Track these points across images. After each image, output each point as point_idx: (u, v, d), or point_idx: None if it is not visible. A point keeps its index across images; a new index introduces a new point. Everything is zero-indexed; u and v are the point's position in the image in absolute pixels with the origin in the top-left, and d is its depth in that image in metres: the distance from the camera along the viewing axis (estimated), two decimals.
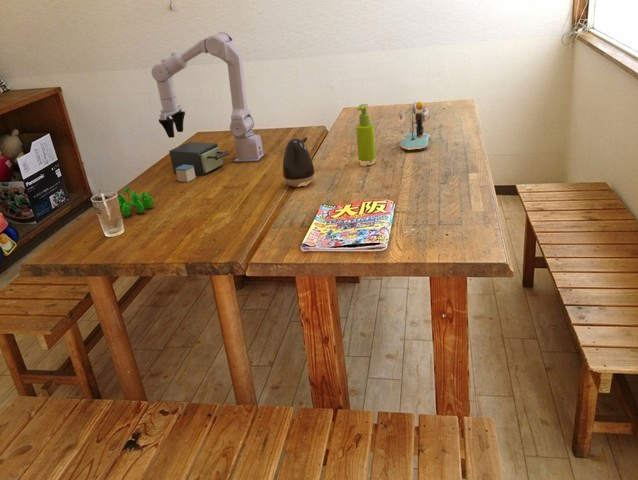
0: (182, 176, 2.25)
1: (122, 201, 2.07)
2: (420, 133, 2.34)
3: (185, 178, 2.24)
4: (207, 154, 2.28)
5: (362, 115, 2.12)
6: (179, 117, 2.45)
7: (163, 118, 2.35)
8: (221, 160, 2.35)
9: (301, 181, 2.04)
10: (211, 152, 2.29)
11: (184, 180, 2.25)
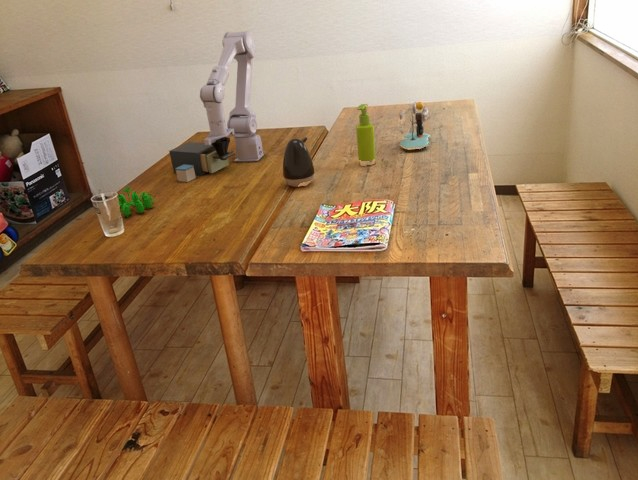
0: (182, 176, 2.25)
1: (122, 201, 2.07)
2: (420, 133, 2.34)
3: (185, 178, 2.24)
4: (213, 154, 2.27)
5: (362, 115, 2.12)
6: None
7: (207, 143, 2.19)
8: (227, 160, 2.34)
9: (301, 181, 2.04)
10: None
11: (184, 180, 2.25)
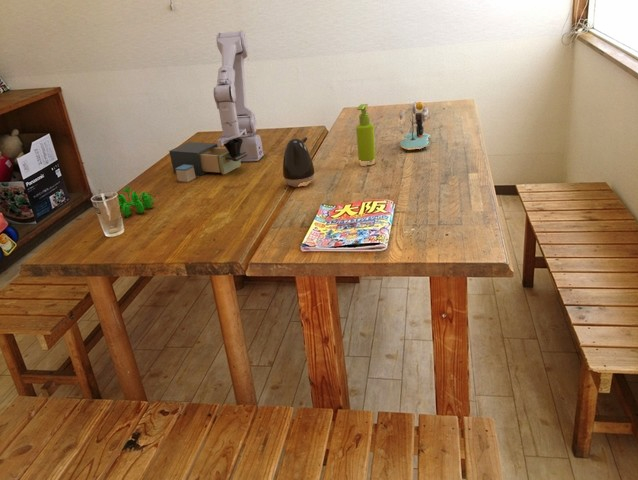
0: (182, 176, 2.25)
1: (122, 201, 2.07)
2: (420, 133, 2.34)
3: (185, 178, 2.24)
4: (225, 155, 2.24)
5: (362, 115, 2.12)
6: None
7: (220, 144, 2.17)
8: (239, 161, 2.31)
9: (301, 181, 2.04)
10: None
11: (184, 180, 2.25)
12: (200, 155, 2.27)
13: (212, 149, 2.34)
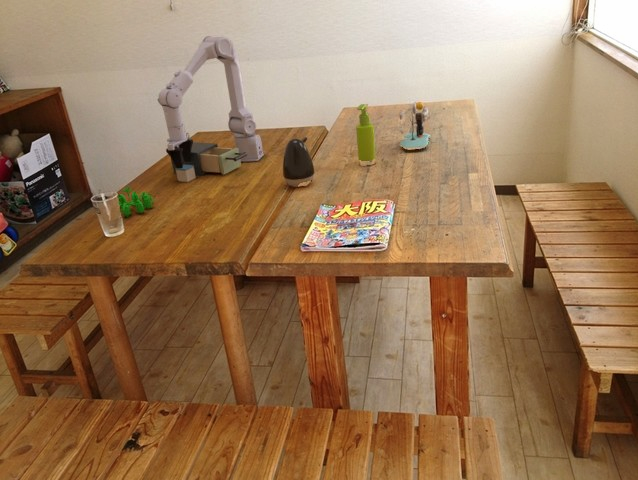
0: (182, 176, 2.25)
1: (122, 201, 2.07)
2: (420, 133, 2.34)
3: (185, 178, 2.24)
4: (225, 155, 2.24)
5: (362, 115, 2.12)
6: (187, 146, 2.25)
7: (171, 148, 2.15)
8: (239, 161, 2.31)
9: (301, 181, 2.04)
10: (229, 153, 2.26)
11: (184, 180, 2.25)
12: (200, 155, 2.27)
13: (212, 149, 2.34)
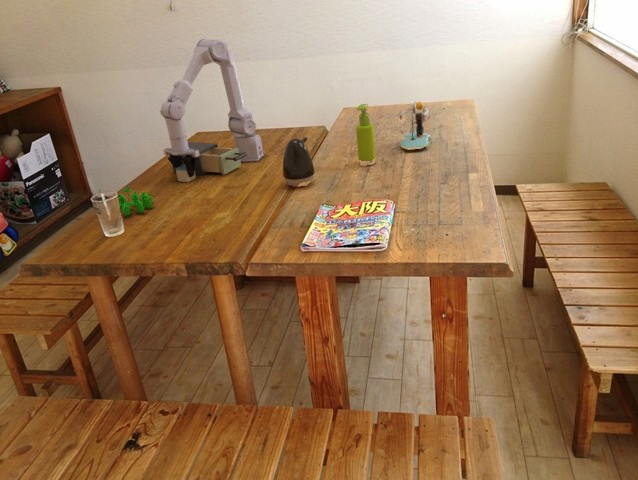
0: (182, 176, 2.25)
1: (122, 201, 2.07)
2: (420, 133, 2.34)
3: (185, 178, 2.24)
4: (225, 155, 2.24)
5: (362, 115, 2.12)
6: (179, 159, 2.26)
7: (198, 154, 2.20)
8: (239, 161, 2.31)
9: (301, 181, 2.04)
10: (229, 153, 2.26)
11: (184, 180, 2.25)
12: (200, 155, 2.27)
13: (212, 149, 2.34)
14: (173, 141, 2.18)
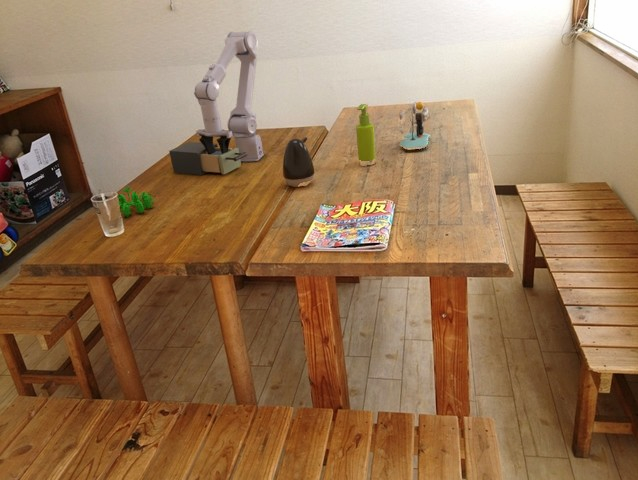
0: None
1: (122, 201, 2.07)
2: (420, 133, 2.34)
3: None
4: (225, 155, 2.24)
5: (362, 115, 2.12)
6: (210, 140, 2.29)
7: (231, 135, 2.22)
8: (239, 161, 2.31)
9: (301, 181, 2.04)
10: (229, 153, 2.26)
11: None
12: (200, 155, 2.27)
13: None
14: (207, 122, 2.21)
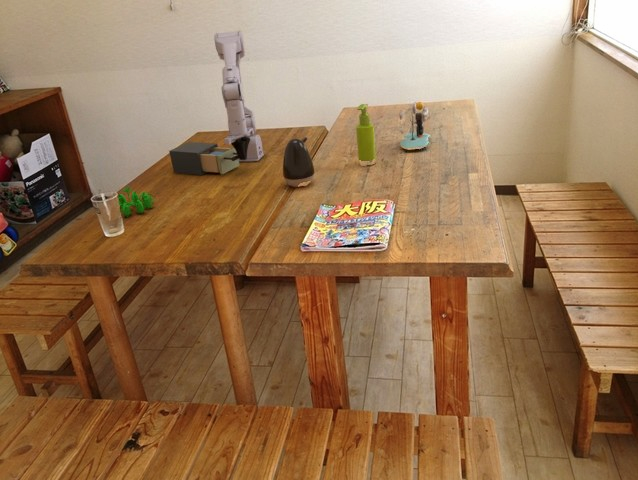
0: None
1: (122, 201, 2.07)
2: (420, 133, 2.34)
3: None
4: (224, 155, 2.24)
5: (362, 115, 2.12)
6: None
7: None
8: (237, 161, 2.31)
9: (301, 181, 2.04)
10: (227, 153, 2.26)
11: None
12: None
13: (210, 149, 2.34)
14: (244, 122, 2.16)
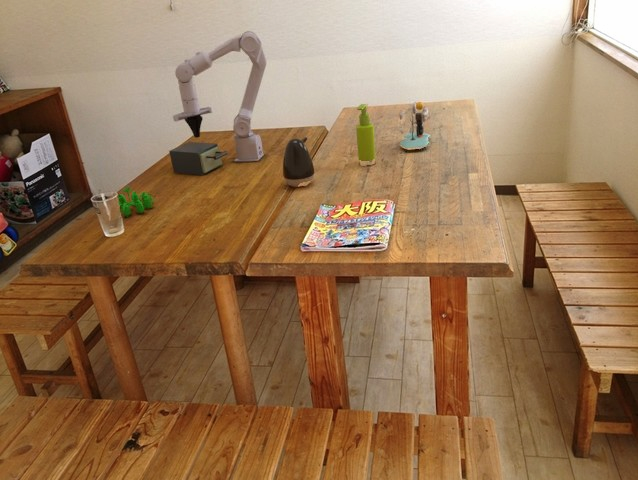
0: None
1: (122, 201, 2.07)
2: (420, 133, 2.34)
3: None
4: (206, 154, 2.28)
5: (362, 115, 2.12)
6: None
7: None
8: (220, 160, 2.35)
9: (301, 181, 2.04)
10: (210, 152, 2.30)
11: None
12: None
13: None
14: (193, 101, 2.28)
